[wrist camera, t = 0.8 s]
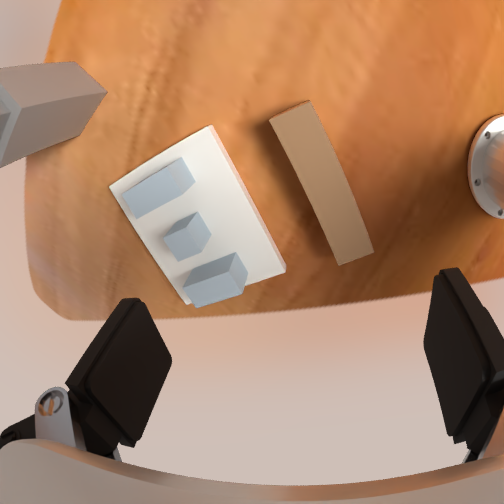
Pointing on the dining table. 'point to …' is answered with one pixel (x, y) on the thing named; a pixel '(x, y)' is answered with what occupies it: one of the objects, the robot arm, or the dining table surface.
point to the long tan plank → (323, 181)
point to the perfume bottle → (44, 106)
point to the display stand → (199, 220)
